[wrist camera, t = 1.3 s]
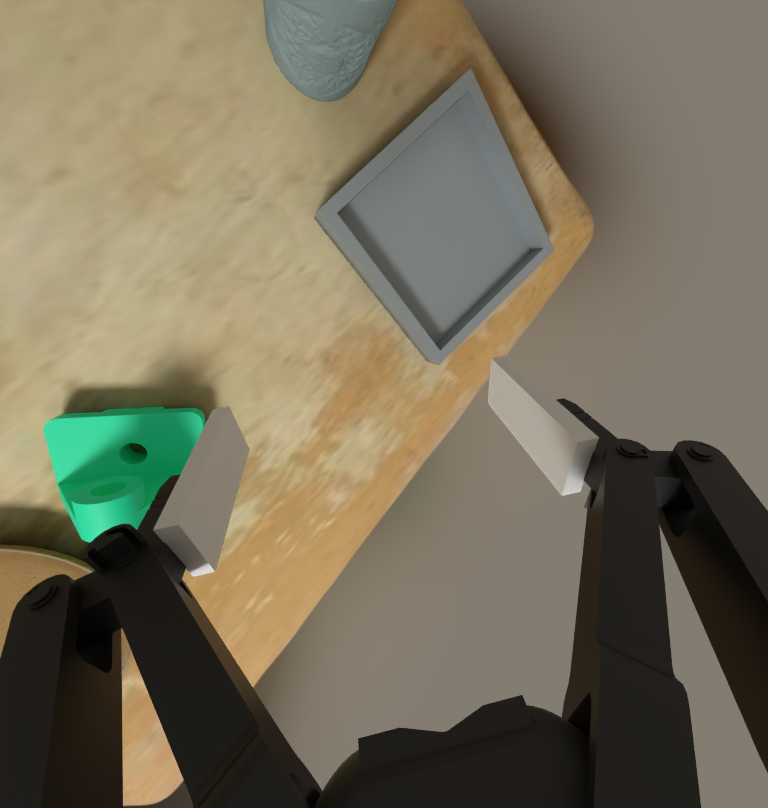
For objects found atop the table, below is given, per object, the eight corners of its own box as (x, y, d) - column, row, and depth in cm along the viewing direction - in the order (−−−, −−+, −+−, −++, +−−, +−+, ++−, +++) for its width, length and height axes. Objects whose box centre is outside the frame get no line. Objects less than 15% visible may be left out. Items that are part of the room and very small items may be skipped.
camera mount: (205, 404, 34) (182, 441, 24) (212, 470, 36) (194, 527, 26) (58, 410, 30) (-36, 457, 20) (76, 484, 32) (-3, 558, 22)
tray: (314, 217, 32) (318, 209, 29) (454, 87, 33) (470, 67, 30) (426, 361, 40) (438, 365, 38) (535, 253, 42) (554, 250, 39)
